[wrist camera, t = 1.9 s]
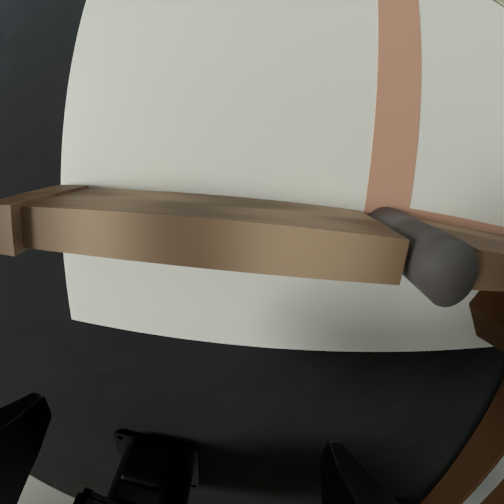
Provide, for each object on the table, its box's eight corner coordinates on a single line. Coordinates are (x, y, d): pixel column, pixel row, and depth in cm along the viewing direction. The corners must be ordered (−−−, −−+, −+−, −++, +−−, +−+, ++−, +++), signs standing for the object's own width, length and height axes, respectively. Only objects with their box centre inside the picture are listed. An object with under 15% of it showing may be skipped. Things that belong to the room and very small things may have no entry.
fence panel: (360, 207, 14) (419, 240, 8) (354, 245, 15) (405, 297, 9) (60, 184, 14) (-20, 204, 8) (61, 218, 14) (-15, 251, 9)
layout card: (504, 341, 17) (508, 345, 17) (76, 314, 17) (71, 319, 16) (540, 35, 11) (546, 34, 10) (110, -55, 10) (106, -59, 10)
